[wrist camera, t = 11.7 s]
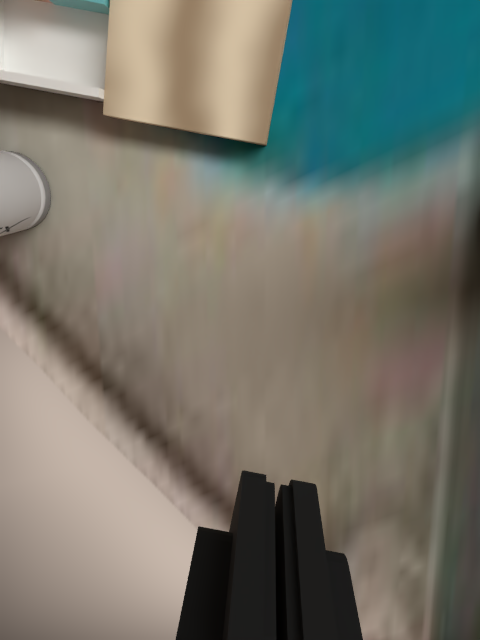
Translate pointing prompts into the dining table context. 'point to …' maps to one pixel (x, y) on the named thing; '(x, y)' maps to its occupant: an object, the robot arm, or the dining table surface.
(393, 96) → the dining table surface
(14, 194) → the travel mug
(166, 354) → the dining table surface
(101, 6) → the tile teal
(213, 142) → the dining table surface
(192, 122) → the board
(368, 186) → the dining table surface
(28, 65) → the tray
